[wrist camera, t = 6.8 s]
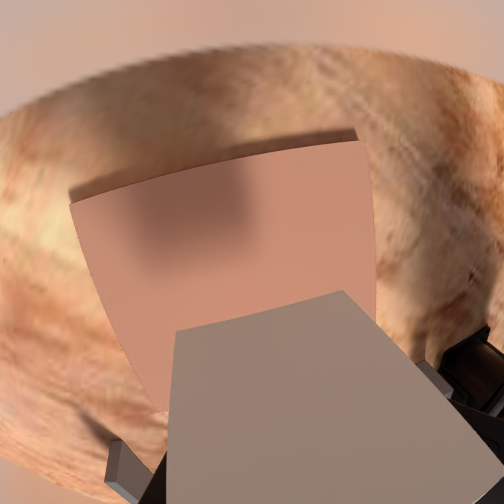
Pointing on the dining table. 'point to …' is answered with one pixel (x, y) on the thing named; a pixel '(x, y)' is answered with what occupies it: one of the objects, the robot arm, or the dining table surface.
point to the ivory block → (314, 416)
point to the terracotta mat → (228, 246)
